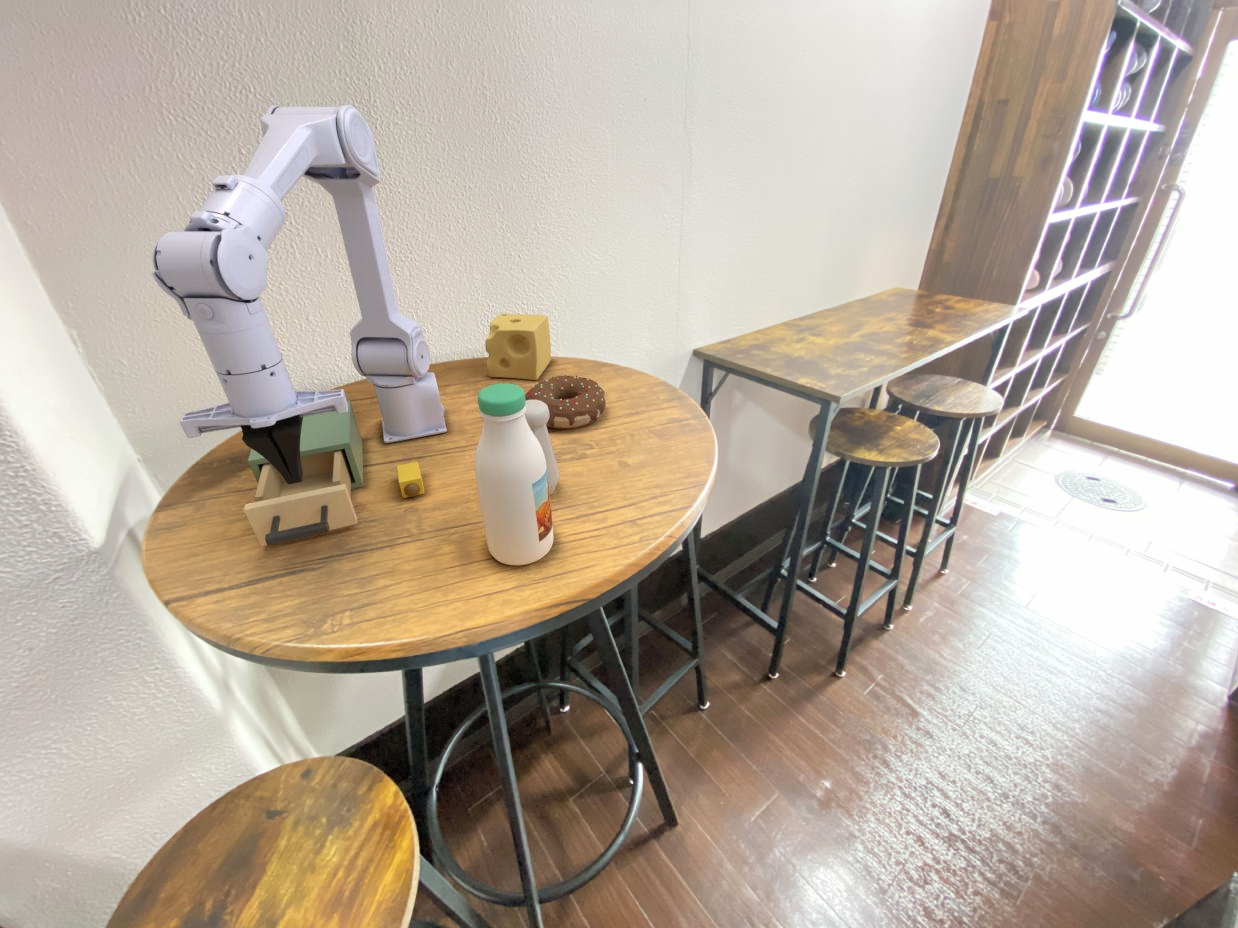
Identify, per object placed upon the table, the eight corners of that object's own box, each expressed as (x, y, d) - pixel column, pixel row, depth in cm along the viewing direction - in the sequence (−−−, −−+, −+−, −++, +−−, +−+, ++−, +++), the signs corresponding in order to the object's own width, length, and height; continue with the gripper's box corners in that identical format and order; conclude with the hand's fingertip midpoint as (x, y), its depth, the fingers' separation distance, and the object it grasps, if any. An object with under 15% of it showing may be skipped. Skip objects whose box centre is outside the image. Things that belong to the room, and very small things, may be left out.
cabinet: (363, 486, 73) (349, 442, 70) (268, 506, 70) (247, 460, 66) (362, 440, 84) (349, 399, 80) (279, 455, 80) (262, 413, 76)
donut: (606, 396, 97) (605, 370, 95) (606, 433, 86) (606, 405, 83) (527, 397, 97) (525, 371, 94) (517, 434, 86) (514, 406, 83)
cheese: (487, 378, 104) (480, 328, 99) (506, 357, 113) (500, 310, 108) (539, 381, 103) (534, 331, 97) (554, 360, 112) (550, 313, 106)
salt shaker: (553, 505, 70) (545, 417, 63) (512, 500, 71) (499, 413, 64) (565, 480, 75) (560, 396, 68) (527, 475, 76) (517, 392, 68)
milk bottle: (525, 577, 59) (503, 416, 48) (474, 552, 62) (443, 397, 51) (567, 537, 64) (555, 385, 53) (518, 516, 68) (498, 370, 57)
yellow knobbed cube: (420, 473, 76) (417, 457, 75) (425, 497, 71) (421, 481, 70) (400, 477, 75) (396, 461, 74) (403, 502, 70) (399, 486, 69)
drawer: (357, 547, 62) (344, 511, 59) (254, 572, 58) (235, 535, 55) (356, 471, 75) (346, 439, 72) (273, 488, 72) (258, 454, 69)
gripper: (147, 392, 47) (212, 514, 54) (329, 367, 51) (366, 482, 59) (169, 363, 52) (225, 478, 59) (332, 343, 57) (365, 452, 64)
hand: (295, 478), depth 59 cm, fingers closed
